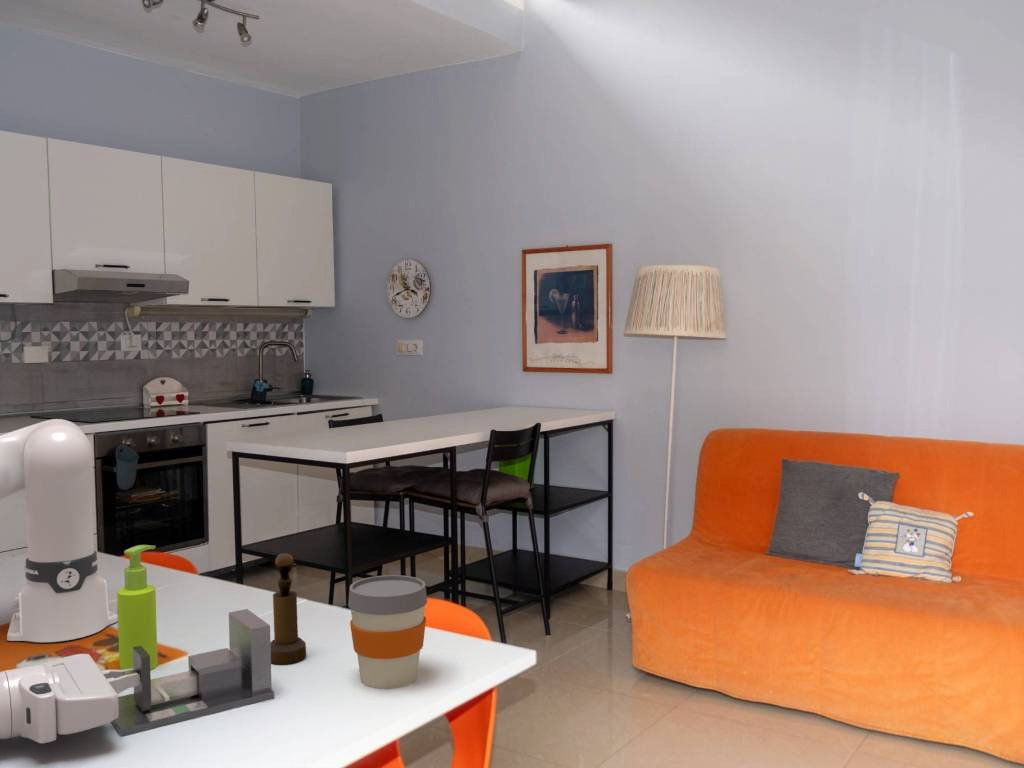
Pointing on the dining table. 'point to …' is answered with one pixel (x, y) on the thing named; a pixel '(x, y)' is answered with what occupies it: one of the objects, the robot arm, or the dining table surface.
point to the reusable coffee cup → (388, 628)
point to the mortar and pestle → (286, 618)
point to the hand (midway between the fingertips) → (137, 676)
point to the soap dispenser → (136, 612)
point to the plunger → (160, 683)
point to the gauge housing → (213, 679)
